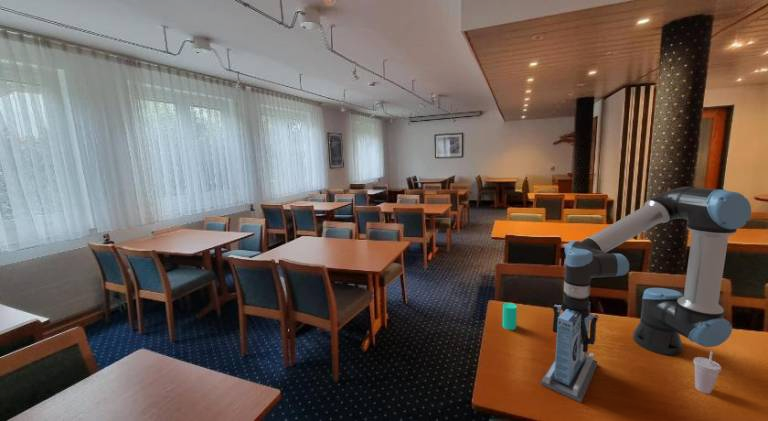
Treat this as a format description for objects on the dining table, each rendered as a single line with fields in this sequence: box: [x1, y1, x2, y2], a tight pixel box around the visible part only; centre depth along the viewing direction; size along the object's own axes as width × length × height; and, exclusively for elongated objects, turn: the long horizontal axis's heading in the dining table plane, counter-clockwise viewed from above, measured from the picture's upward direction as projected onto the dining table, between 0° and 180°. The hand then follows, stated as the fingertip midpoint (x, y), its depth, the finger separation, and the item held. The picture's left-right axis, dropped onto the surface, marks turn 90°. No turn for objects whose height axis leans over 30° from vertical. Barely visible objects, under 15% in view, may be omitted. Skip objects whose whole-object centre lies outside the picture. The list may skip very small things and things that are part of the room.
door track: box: [540, 352, 598, 403], centre depth 112 cm, size 12×24×4 cm, turn 136°
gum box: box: [554, 301, 592, 385], centre depth 110 cm, size 20×5×23 cm, turn 132°
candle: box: [502, 302, 518, 331], centre depth 144 cm, size 6×6×12 cm
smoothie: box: [692, 350, 722, 395], centre depth 102 cm, size 6×6×14 cm
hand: (571, 355), depth 111 cm, fingers closed on gum box, 5 cm apart
